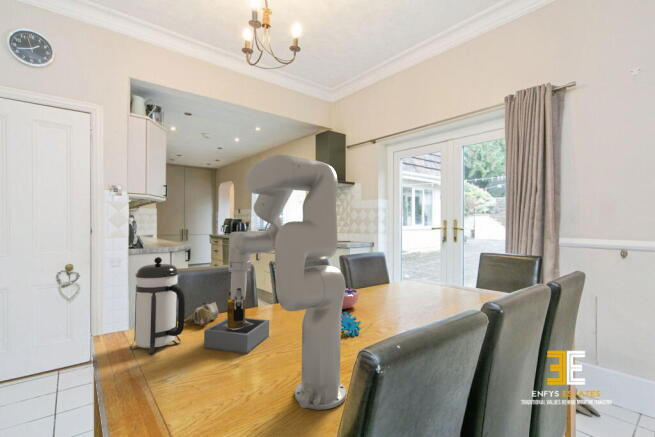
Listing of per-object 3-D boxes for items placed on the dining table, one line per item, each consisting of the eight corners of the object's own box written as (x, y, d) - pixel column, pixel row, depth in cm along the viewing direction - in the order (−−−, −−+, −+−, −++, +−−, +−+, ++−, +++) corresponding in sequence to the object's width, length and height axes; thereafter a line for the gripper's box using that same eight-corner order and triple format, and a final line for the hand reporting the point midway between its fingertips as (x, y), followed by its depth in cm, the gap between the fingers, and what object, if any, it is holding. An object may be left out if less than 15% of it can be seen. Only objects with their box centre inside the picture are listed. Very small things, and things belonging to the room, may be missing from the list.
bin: (247, 354, 97) (247, 335, 97) (203, 348, 101) (204, 330, 101) (269, 336, 113) (269, 320, 113) (230, 331, 117) (231, 316, 117)
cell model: (365, 306, 157) (366, 284, 157) (347, 315, 140) (347, 291, 140) (337, 301, 166) (337, 280, 166) (316, 309, 149) (317, 286, 149)
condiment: (222, 325, 107) (222, 291, 107) (243, 320, 113) (244, 287, 113) (233, 330, 102) (233, 295, 102) (254, 324, 108) (255, 291, 108)
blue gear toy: (344, 335, 110) (335, 311, 117) (336, 343, 113) (328, 319, 120) (367, 334, 116) (357, 310, 123) (359, 341, 119) (350, 318, 126)
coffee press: (120, 359, 92) (123, 260, 93) (138, 340, 108) (140, 255, 108) (183, 353, 97) (185, 259, 97) (191, 335, 112) (193, 254, 113)
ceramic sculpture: (225, 299, 132) (201, 310, 118) (225, 318, 132) (202, 332, 118) (204, 297, 135) (179, 308, 121) (205, 316, 135) (179, 329, 121)
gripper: (229, 263, 115) (228, 311, 115) (227, 270, 98) (226, 326, 98) (250, 263, 117) (249, 310, 117) (251, 270, 100) (250, 324, 100)
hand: (238, 317), depth 107 cm, fingers closed on condiment, 6 cm apart
